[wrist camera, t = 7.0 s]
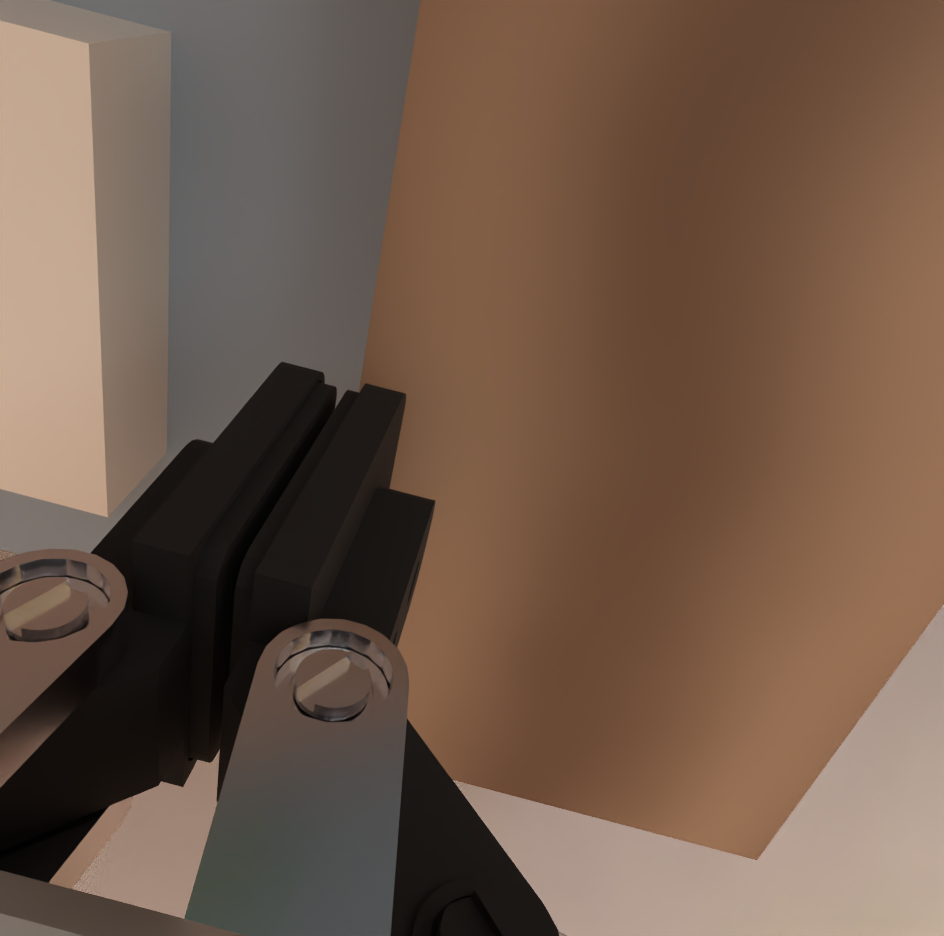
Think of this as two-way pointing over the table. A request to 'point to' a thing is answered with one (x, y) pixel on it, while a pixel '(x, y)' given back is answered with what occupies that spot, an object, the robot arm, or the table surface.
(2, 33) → the cream coaster
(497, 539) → the board
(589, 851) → the table surface
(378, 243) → the slate mat
